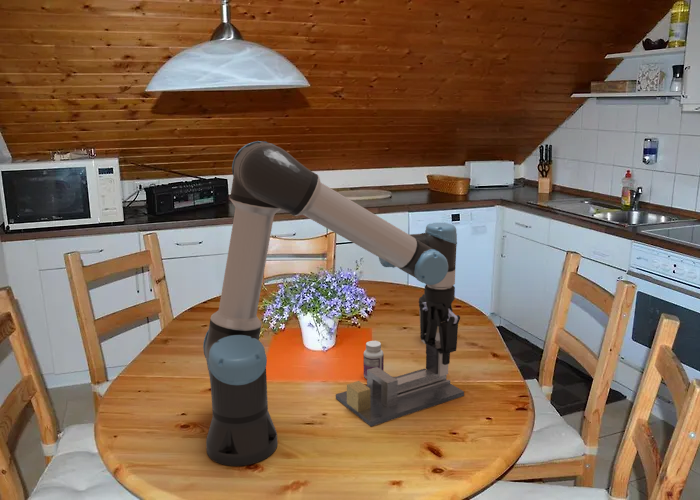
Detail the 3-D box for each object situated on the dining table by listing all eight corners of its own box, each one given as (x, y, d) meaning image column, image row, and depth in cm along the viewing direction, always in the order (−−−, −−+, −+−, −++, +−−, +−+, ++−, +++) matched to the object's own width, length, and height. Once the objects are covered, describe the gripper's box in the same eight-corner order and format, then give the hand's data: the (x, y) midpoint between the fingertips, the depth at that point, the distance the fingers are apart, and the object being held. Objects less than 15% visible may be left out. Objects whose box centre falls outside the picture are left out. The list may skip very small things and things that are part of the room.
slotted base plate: (424, 372, 167) (425, 346, 166) (464, 395, 154) (465, 368, 152) (335, 398, 153) (335, 370, 151) (371, 426, 140) (371, 396, 138)
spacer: (370, 408, 146) (358, 412, 144) (358, 399, 150) (346, 403, 148) (370, 388, 145) (358, 392, 143) (358, 380, 149) (346, 384, 147)
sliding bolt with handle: (437, 375, 162) (438, 340, 159) (447, 381, 159) (448, 345, 156) (387, 390, 154) (388, 353, 151) (397, 397, 150) (397, 359, 148)
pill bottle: (371, 370, 169) (371, 337, 166) (387, 376, 166) (387, 342, 163) (359, 377, 165) (359, 344, 162) (375, 383, 161) (375, 348, 159)
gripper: (474, 291, 148) (470, 380, 153) (430, 274, 162) (427, 356, 168) (450, 296, 144) (447, 387, 150) (407, 279, 158) (405, 362, 164)
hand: (437, 371), depth 159 cm, fingers closed on sliding bolt with handle, 4 cm apart
